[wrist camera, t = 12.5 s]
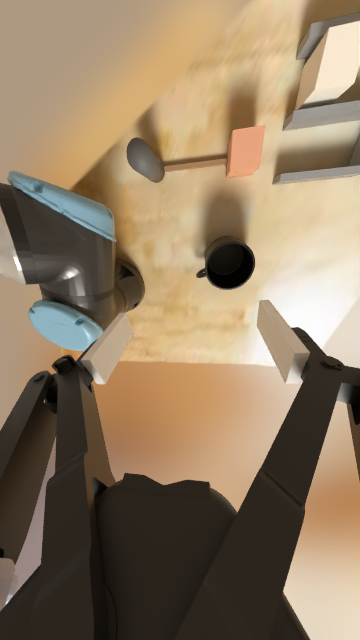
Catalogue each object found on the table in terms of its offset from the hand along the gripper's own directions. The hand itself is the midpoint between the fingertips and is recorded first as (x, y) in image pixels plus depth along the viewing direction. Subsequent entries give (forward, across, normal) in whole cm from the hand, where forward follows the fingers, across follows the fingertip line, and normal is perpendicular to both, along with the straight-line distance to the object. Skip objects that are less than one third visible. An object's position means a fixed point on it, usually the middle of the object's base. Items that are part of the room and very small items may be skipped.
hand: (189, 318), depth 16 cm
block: (+28, +20, +22) cm, 41 cm away
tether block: (+28, +2, +16) cm, 33 cm away
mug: (+28, +6, -2) cm, 29 cm away
